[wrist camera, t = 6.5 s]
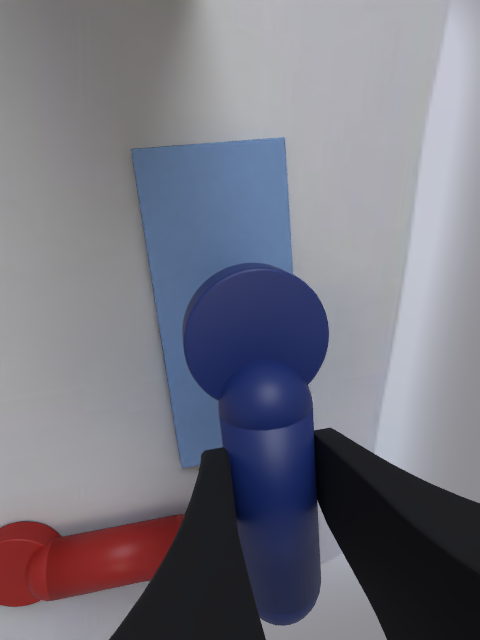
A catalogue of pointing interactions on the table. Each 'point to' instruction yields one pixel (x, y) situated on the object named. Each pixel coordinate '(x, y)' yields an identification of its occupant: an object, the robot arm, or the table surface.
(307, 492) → the blue spoon
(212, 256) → the blue mat
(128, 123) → the table surface
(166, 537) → the red spoon
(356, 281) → the table surface
